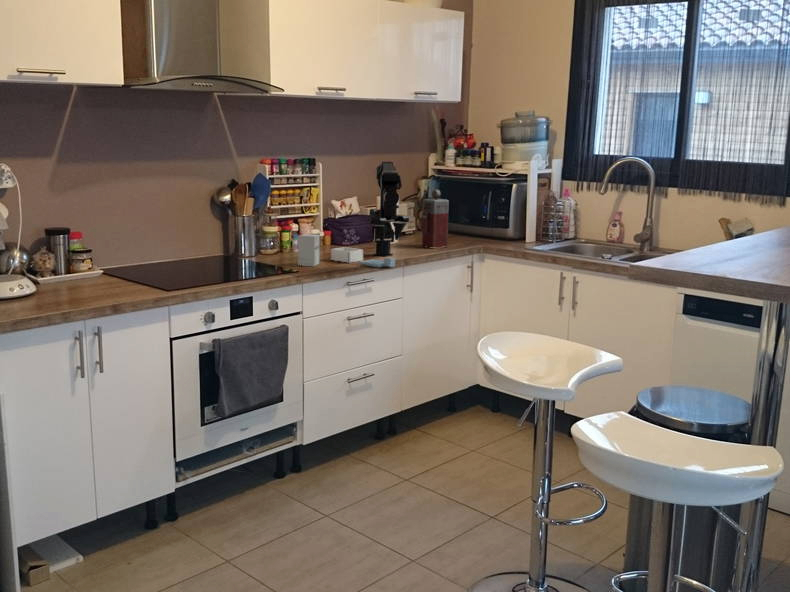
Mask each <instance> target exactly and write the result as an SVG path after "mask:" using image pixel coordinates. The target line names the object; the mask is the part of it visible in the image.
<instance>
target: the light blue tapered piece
mask: <svg viewBox="0 0 790 592" xmlns="http://www.w3.org/2000/svg"><path fill="white" fill-rule="evenodd" d="M359 264H362V265H363V266H366V267H372V268H378V269H379V268H385V267H395V266H396V257H389V256H387V257H383V260H382V259H376V258H375V259H374V258H372V259H368V260H363V261H360V262H359Z"/></svg>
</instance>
